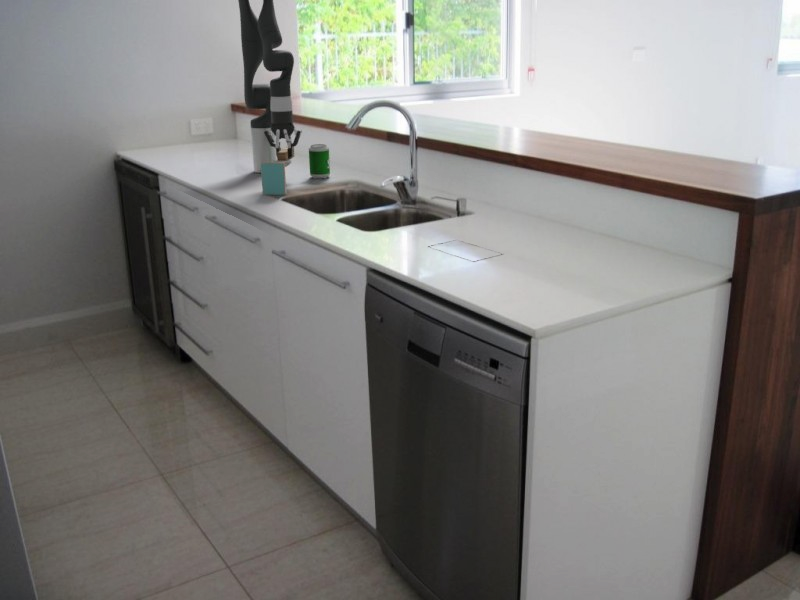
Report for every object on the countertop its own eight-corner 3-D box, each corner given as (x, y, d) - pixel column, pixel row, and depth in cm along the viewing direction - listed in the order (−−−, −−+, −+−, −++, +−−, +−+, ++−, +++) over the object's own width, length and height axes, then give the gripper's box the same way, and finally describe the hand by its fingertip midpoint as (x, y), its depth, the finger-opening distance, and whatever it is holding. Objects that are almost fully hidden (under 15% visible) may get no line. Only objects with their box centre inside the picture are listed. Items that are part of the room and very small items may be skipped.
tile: (263, 194, 272) (261, 162, 268) (286, 194, 271) (284, 162, 267) (262, 194, 270) (260, 162, 267) (285, 195, 270) (283, 162, 266)
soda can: (326, 179, 295) (325, 147, 291) (307, 179, 296) (305, 146, 292) (332, 175, 302) (331, 143, 298) (313, 175, 303) (312, 143, 299)
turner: (281, 156, 293) (280, 146, 292) (299, 156, 293) (299, 146, 292) (266, 166, 273) (265, 156, 272) (286, 166, 272) (285, 156, 271)
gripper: (303, 108, 281) (306, 156, 287) (264, 108, 283) (268, 156, 288) (298, 110, 274) (301, 160, 280) (259, 110, 276) (262, 160, 281)
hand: (284, 158), depth 284 cm, fingers closed on turner, 3 cm apart
